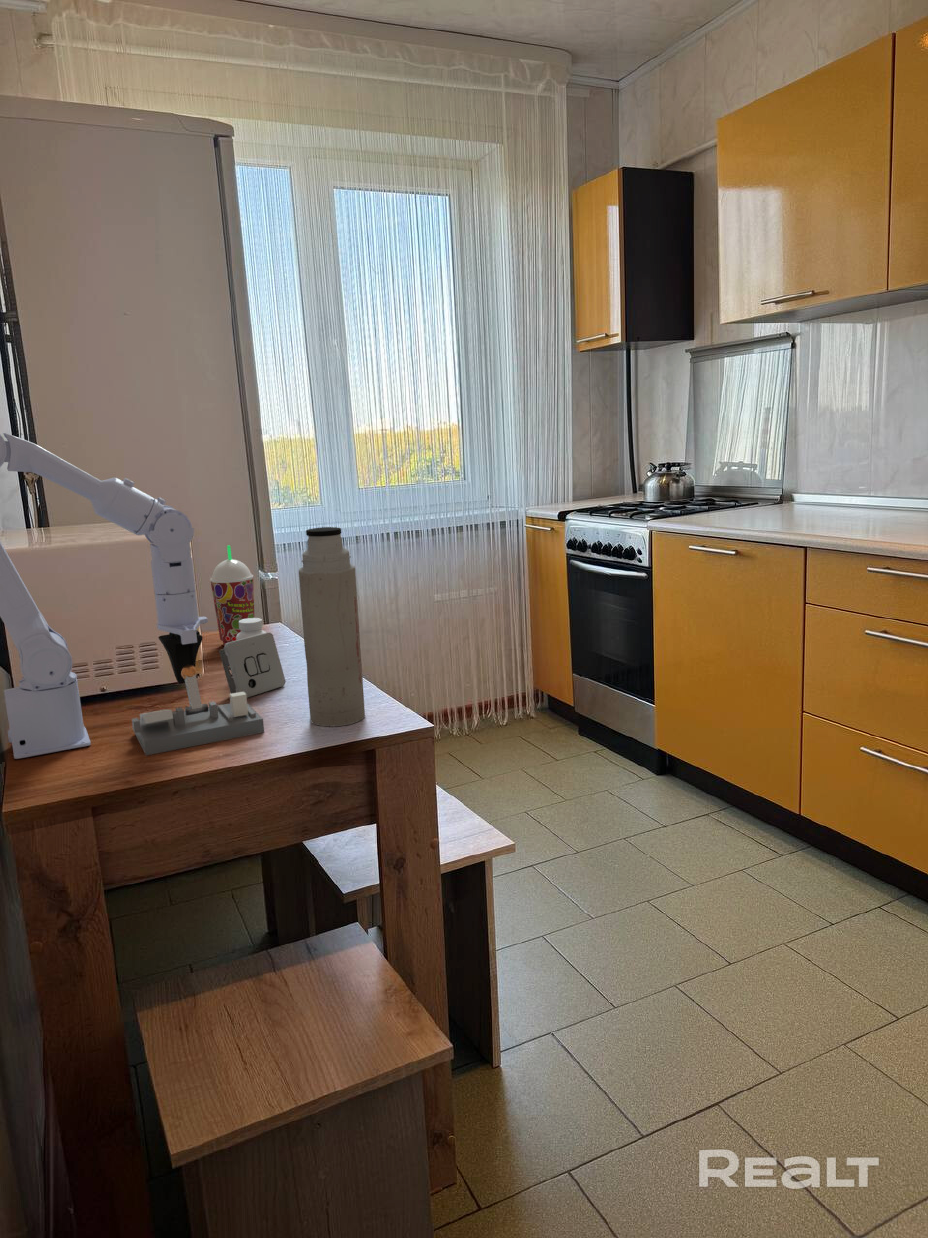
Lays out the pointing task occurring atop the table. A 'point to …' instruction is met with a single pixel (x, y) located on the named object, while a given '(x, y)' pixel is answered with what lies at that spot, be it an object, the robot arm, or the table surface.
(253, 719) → the panel
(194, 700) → the lever
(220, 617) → the smoothie
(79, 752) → the table surface
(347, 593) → the thermos bottle
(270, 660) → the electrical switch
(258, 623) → the supplement bottle
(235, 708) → the off-white rectangular block
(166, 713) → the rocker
